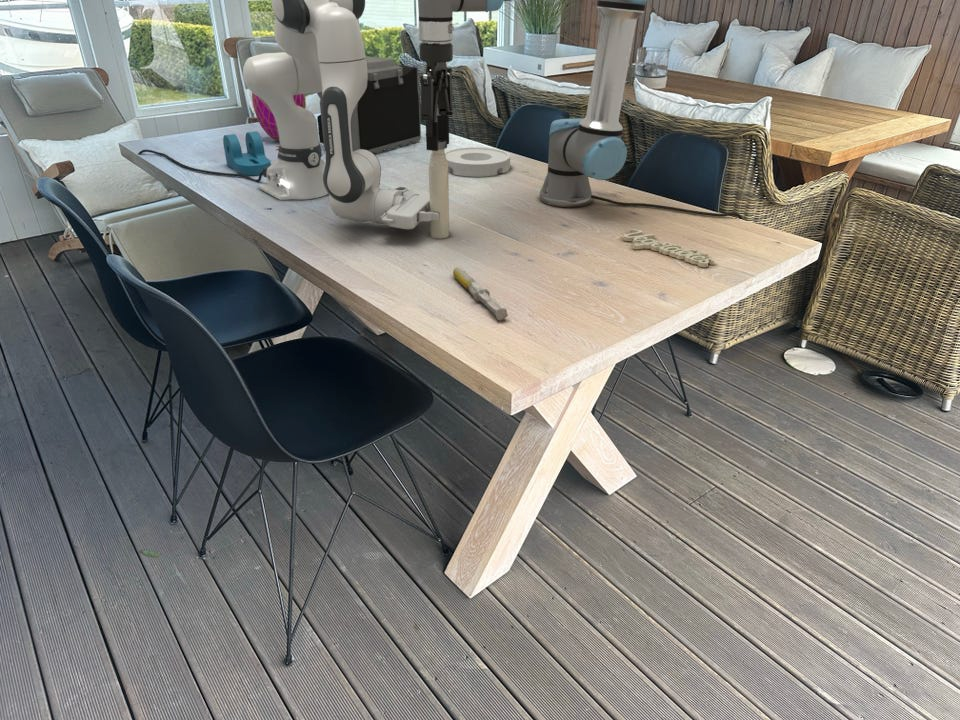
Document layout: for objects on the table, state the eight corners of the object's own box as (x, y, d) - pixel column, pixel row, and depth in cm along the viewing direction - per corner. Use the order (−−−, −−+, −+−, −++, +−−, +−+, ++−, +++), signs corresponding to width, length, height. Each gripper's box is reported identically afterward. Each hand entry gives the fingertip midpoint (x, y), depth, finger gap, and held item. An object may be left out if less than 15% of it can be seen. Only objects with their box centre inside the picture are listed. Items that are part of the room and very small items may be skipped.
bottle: (427, 234, 177) (424, 141, 166) (442, 230, 180) (441, 139, 168) (436, 239, 174) (434, 145, 162) (452, 236, 176) (451, 143, 165)
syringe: (449, 274, 155) (449, 263, 153) (465, 272, 156) (464, 260, 154) (490, 323, 135) (491, 310, 133) (508, 319, 136) (508, 307, 134)
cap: (443, 150, 163) (443, 142, 163) (426, 149, 164) (426, 141, 163) (449, 146, 167) (449, 139, 166) (432, 145, 168) (432, 137, 167)
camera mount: (227, 164, 233) (221, 132, 227) (257, 160, 238) (252, 129, 233) (244, 176, 220) (239, 143, 215) (276, 172, 225) (271, 139, 220)
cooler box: (383, 133, 276) (378, 52, 261) (425, 141, 265) (422, 56, 250) (314, 150, 251) (304, 61, 235) (358, 160, 240) (350, 67, 224)
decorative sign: (608, 236, 174) (633, 227, 180) (608, 240, 175) (632, 231, 180) (698, 267, 157) (722, 256, 163) (698, 271, 158) (721, 260, 163)
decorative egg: (293, 132, 276) (283, 50, 261) (319, 140, 264) (310, 56, 249) (249, 139, 265) (236, 54, 250) (273, 148, 253) (261, 60, 238)
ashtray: (444, 158, 243) (444, 146, 241) (509, 159, 243) (510, 147, 241) (439, 176, 224) (438, 163, 222) (510, 177, 223) (510, 165, 221)
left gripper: (375, 207, 166) (429, 213, 163) (404, 184, 183) (453, 188, 180) (377, 232, 169) (430, 238, 167) (405, 207, 187) (454, 212, 184)
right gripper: (434, 47, 145) (437, 157, 157) (466, 38, 161) (466, 139, 172) (402, 45, 147) (407, 154, 159) (436, 37, 163) (438, 136, 174)
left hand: (442, 212), depth 174 cm, fingers closed on bottle, 5 cm apart
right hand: (438, 146), depth 166 cm, fingers open, 6 cm apart
